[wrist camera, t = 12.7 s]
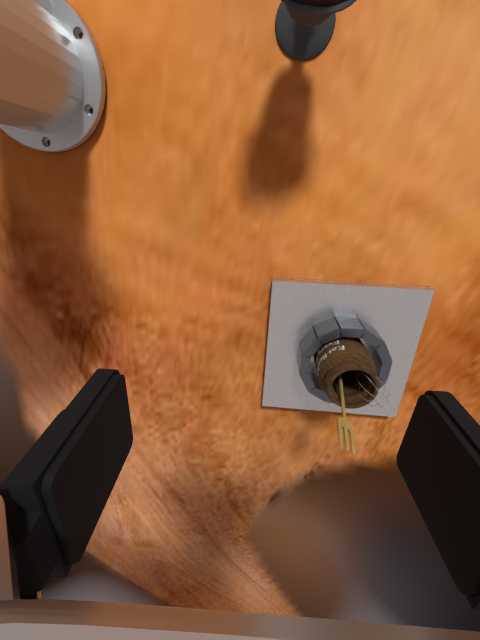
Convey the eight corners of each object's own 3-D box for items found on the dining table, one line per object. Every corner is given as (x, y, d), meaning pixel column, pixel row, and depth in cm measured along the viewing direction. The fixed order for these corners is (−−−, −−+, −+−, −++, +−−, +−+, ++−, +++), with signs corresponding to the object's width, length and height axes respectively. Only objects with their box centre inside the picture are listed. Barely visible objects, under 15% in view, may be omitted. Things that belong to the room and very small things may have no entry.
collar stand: (272, 276, 35) (272, 289, 31) (427, 285, 34) (450, 300, 30) (262, 398, 42) (261, 422, 38) (391, 409, 41) (405, 434, 37)
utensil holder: (374, 342, 35) (422, 413, 24) (345, 382, 38) (376, 463, 27) (329, 321, 35) (357, 384, 24) (302, 364, 37) (316, 439, 26)
